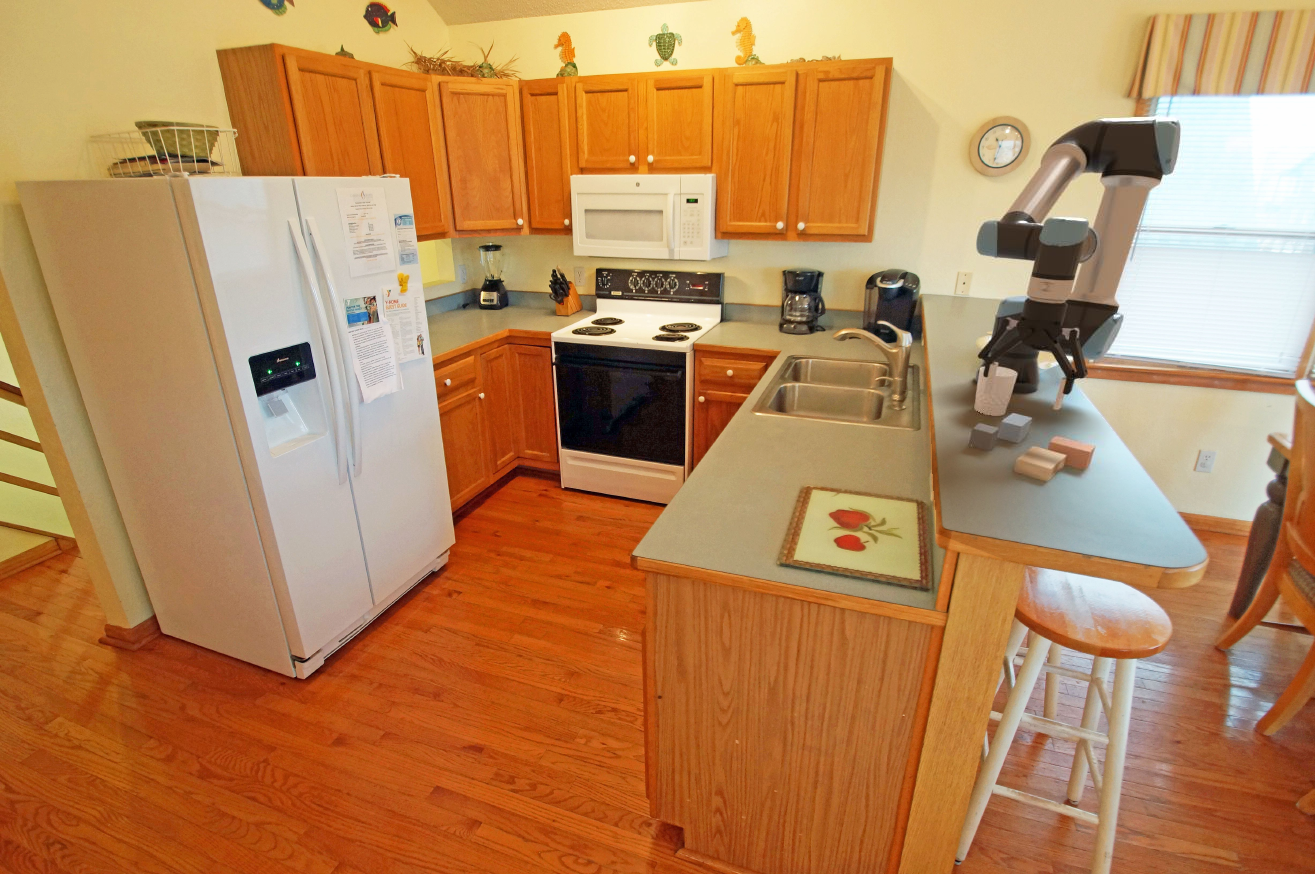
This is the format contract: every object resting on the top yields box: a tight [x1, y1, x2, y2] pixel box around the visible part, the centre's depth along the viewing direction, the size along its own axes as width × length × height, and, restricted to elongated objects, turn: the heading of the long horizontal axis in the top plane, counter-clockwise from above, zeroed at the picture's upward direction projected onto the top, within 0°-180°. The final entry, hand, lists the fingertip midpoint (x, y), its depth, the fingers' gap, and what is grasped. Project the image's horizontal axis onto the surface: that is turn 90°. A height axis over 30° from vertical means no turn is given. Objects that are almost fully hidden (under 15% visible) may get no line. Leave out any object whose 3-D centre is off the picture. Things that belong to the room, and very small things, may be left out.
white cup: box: [973, 367, 1018, 417], centre depth 152 cm, size 8×8×10 cm
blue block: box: [997, 412, 1033, 444], centre depth 139 cm, size 7×4×4 cm, turn 136°
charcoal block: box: [968, 422, 1000, 452], centre depth 134 cm, size 4×4×4 cm
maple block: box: [1013, 445, 1067, 483], centre depth 124 cm, size 9×6×3 cm, turn 133°
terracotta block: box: [1047, 436, 1096, 471], centre depth 128 cm, size 7×4×4 cm, turn 46°
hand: (1021, 400), depth 136 cm, fingers open, 13 cm apart
